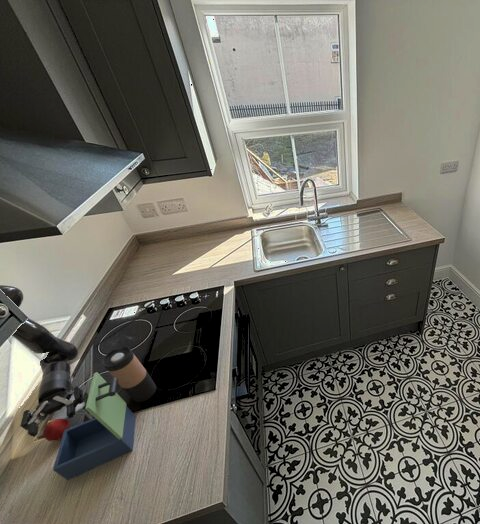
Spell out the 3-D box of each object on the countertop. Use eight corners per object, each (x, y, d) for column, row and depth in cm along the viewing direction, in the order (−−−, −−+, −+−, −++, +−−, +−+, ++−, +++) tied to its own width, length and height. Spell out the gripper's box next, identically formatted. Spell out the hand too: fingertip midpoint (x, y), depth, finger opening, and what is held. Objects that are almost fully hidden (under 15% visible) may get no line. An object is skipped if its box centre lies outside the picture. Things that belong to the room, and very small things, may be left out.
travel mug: (141, 406, 97) (111, 370, 86) (127, 398, 100) (96, 361, 89) (162, 387, 103) (135, 350, 92) (148, 379, 106) (120, 343, 94)
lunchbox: (68, 480, 81) (52, 470, 77) (77, 441, 89) (64, 430, 85) (132, 450, 86) (121, 439, 82) (135, 416, 95) (125, 404, 91)
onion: (66, 445, 88) (49, 432, 84) (47, 445, 88) (29, 432, 84) (80, 425, 93) (65, 412, 89) (62, 426, 93) (46, 412, 89)
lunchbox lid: (85, 409, 72) (109, 399, 74) (93, 373, 81) (115, 365, 83) (119, 439, 82) (139, 430, 84) (123, 404, 91) (142, 396, 92)
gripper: (19, 393, 93) (11, 435, 82) (75, 368, 100) (74, 404, 89) (35, 406, 97) (29, 447, 86) (87, 381, 104) (88, 417, 93)
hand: (52, 425), depth 87 cm, fingers open, 8 cm apart
